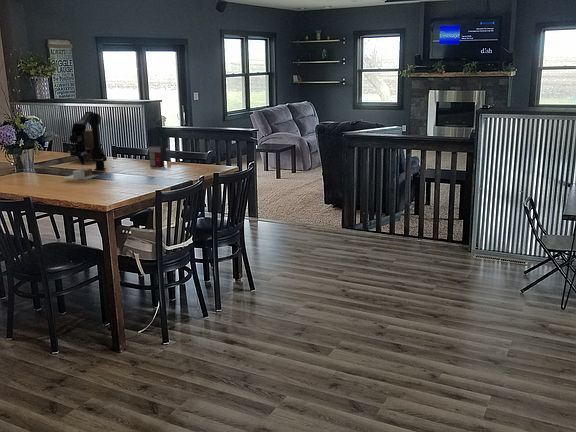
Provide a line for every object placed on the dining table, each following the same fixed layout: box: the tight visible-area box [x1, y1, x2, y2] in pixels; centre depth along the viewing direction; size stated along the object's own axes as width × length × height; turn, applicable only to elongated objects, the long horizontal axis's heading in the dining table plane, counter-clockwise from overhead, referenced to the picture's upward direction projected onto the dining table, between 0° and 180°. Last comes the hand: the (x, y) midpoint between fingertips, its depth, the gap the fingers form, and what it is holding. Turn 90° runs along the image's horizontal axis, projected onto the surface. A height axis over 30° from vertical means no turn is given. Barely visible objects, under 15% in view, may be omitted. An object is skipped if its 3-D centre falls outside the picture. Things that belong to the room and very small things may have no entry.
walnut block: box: [72, 168, 93, 177], centre depth 394 cm, size 4×7×12 cm
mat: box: [61, 174, 100, 181], centre depth 392 cm, size 17×18×1 cm
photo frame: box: [85, 128, 94, 161], centre depth 467 cm, size 15×22×25 cm
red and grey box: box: [148, 145, 165, 168], centre depth 434 cm, size 11×4×15 cm, turn 65°
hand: (82, 165), depth 394 cm, fingers closed
